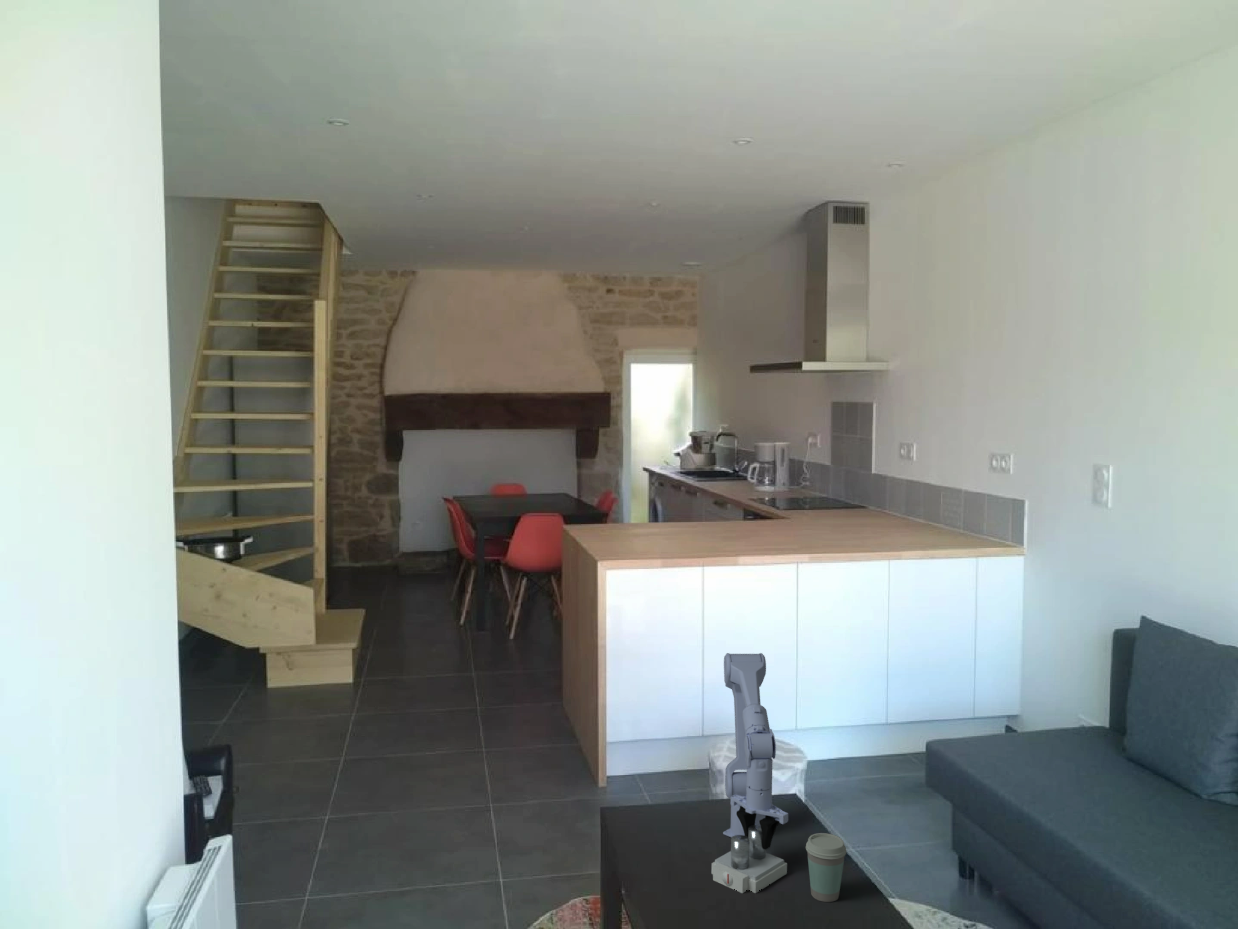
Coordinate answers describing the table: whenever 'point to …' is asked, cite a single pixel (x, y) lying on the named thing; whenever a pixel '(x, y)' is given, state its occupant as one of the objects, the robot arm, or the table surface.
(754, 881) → the grey flat ridged box
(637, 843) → the table surface
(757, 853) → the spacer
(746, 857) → the cylinder
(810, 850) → the coffee cup
